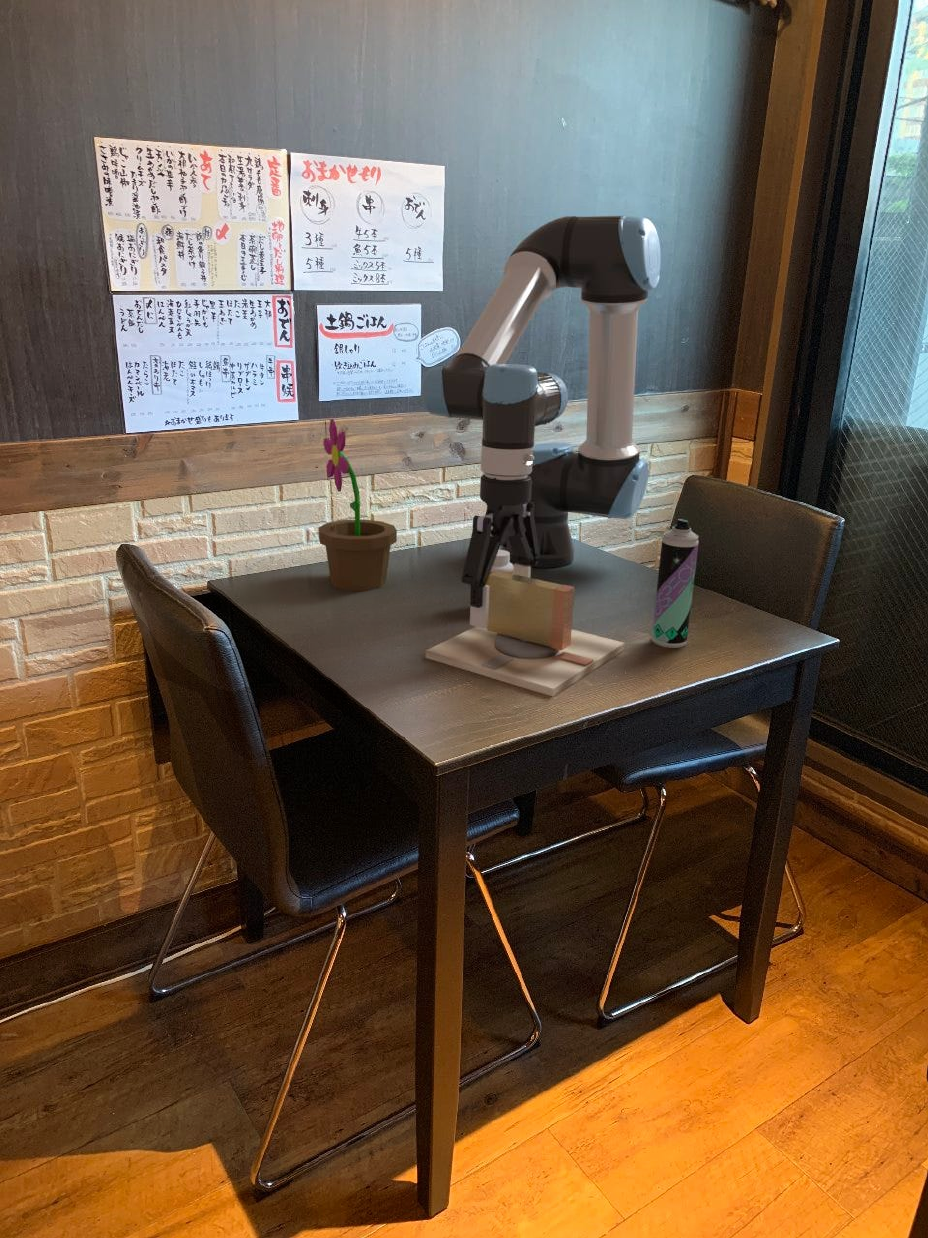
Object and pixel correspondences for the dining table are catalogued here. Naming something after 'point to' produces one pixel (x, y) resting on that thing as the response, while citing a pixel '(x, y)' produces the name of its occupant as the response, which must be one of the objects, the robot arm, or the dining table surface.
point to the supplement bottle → (502, 563)
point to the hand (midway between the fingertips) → (500, 615)
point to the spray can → (675, 586)
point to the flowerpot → (354, 533)
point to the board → (526, 658)
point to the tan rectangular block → (530, 609)
